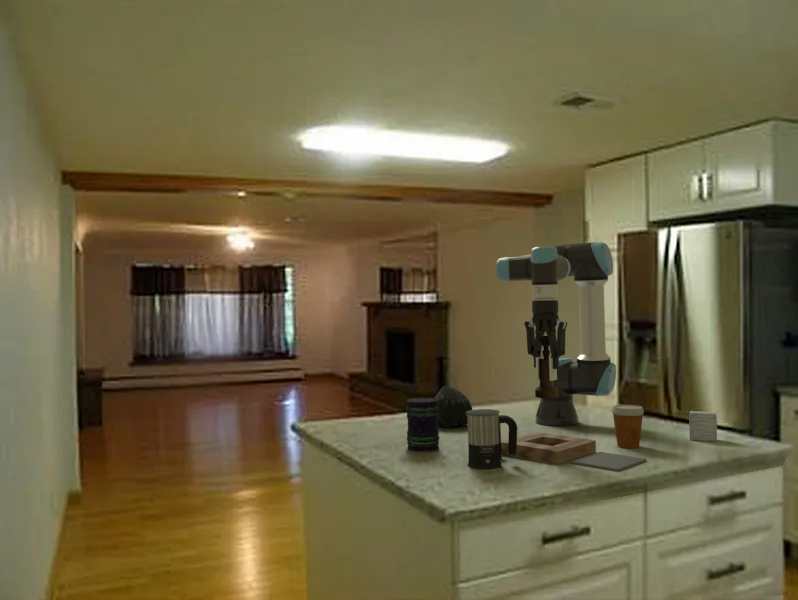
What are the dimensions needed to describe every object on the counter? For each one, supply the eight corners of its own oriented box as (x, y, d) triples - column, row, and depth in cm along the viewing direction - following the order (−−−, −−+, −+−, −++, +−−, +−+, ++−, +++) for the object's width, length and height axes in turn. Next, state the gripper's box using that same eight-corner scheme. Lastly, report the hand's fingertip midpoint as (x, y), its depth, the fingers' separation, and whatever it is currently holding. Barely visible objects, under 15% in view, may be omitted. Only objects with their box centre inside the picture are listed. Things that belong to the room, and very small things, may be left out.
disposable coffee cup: (644, 444, 218) (644, 405, 218) (644, 450, 209) (644, 409, 209) (612, 442, 221) (611, 404, 221) (611, 448, 212) (610, 408, 212)
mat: (570, 463, 194) (570, 461, 194) (600, 453, 205) (600, 451, 205) (618, 471, 184) (618, 469, 184) (646, 460, 195) (646, 458, 195)
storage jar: (433, 452, 210) (432, 402, 210) (402, 451, 213) (401, 401, 213) (443, 446, 219) (442, 398, 219) (413, 444, 223) (412, 397, 223)
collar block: (499, 453, 207) (499, 441, 207) (537, 443, 221) (537, 432, 221) (558, 464, 193) (558, 451, 193) (595, 452, 207) (595, 440, 207)
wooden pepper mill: (556, 395, 210) (556, 334, 210) (559, 398, 204) (558, 336, 204) (534, 395, 211) (533, 335, 211) (536, 398, 204) (535, 336, 204)
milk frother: (477, 471, 187) (476, 415, 187) (450, 459, 201) (449, 407, 201) (523, 465, 192) (522, 410, 192) (493, 454, 207) (492, 403, 207)
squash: (478, 414, 246) (469, 379, 256) (436, 417, 243) (428, 382, 253) (471, 435, 256) (463, 401, 266) (431, 439, 254) (424, 404, 264)
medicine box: (717, 439, 223) (716, 412, 223) (717, 442, 219) (716, 414, 219) (690, 437, 226) (689, 410, 226) (689, 440, 222) (688, 412, 222)
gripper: (513, 300, 210) (515, 378, 211) (563, 299, 198) (564, 382, 199) (528, 299, 216) (529, 376, 216) (577, 299, 204) (578, 380, 204)
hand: (546, 379), depth 207 cm, fingers closed on wooden pepper mill, 4 cm apart
